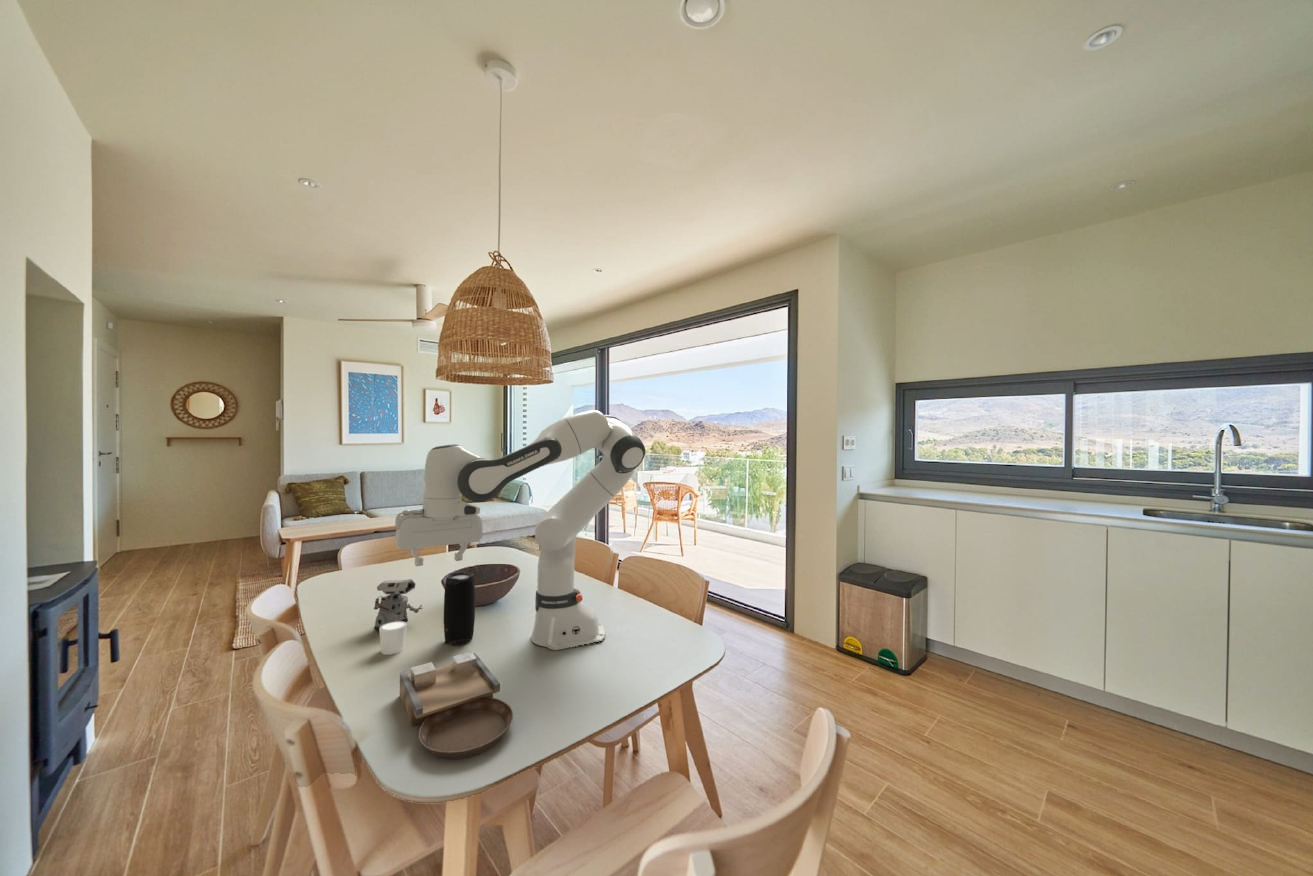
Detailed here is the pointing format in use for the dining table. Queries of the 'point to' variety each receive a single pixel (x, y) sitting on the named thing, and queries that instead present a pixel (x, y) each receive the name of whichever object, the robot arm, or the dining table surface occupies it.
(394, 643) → the white cylinder
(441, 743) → the plant saucer
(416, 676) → the off-white small block
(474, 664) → the silver block
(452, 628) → the portable speaker
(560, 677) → the dining table surface
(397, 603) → the figurine
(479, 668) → the brown and grey tray
